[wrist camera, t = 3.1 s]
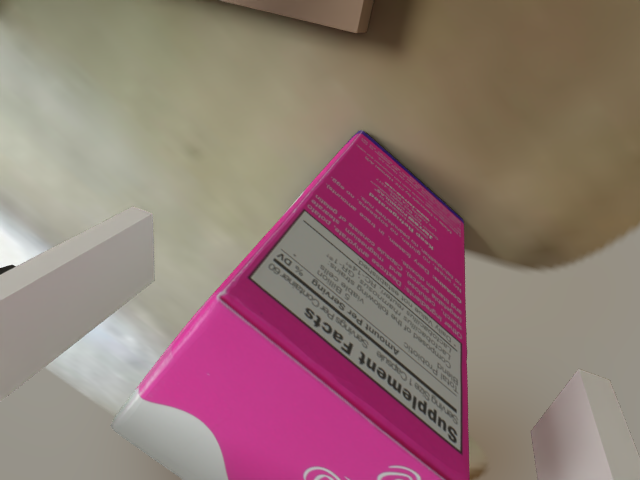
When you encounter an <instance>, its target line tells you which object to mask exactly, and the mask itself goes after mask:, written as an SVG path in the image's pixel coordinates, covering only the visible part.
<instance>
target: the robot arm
mask: <svg viewBox="0 0 640 480" xmlns="http://www.w3.org/2000/svg"><path fill="white" fill-rule="evenodd" d="M154 281H155V275H154V236H153V213H150V212H148V211H145V210H142V209H139V208H137V207H134V206H132V207H130V208H128V209H126V210H125V211H123V212H121V213H119V214H117V215H115V216H113V217H111V218H109V219H107V220H105V221H103V222H101V223H99V224H97V225H96V226H94V227H92V228H90V229H88V230H86V231H84V232H82V233H80V234H78V235H76V236H74V237H72V238H70V239H68V240H66V241H65V242H63V243H61V244H59V245H57V246H55V247H53V248H51V249H49V250H47V251H45V252H43V253H41V254H39V255H37V256H36V257H34V258H32V259H30V260H28V261H26V262H24V263H22V264H20V265H18V266H14V265H9V266H6V267H2V268H0V402H1V401H2V400H3V399H5V398H6V397H7V396H9V395H10V394H11V393H12V392H14V391H15V390H16V389H17V388H19V387H20V386H21V385H23V384H24V383H25V382H26V381H27V380H29V379H30V378H31V377H33V376H34V375H35V374H36V373H38V372H39V371H40V370H42V369H43V368H44V367H45V366H47V365H48V364H49V363H51V362H52V361H53V360H54V359H56V358H57V357H58V356H59V355H61V354H62V353H63V352H65V351H66V350H67V349H68V348H70V347H71V346H72V345H73V344H75V343H76V342H77V341H79V340H80V339H81V338H82V337H84V336H85V335H86V334H87V333H89V332H90V331H91V330H93V329H94V328H95V327H96V326H98V325H99V324H100V323H101V322H103V321H104V320H105V319H106V318H108V317H109V316H110V315H112V314H113V313H114V312H115V311H117V310H118V309H119V308H120V307H122V306H123V305H124V304H126V303H127V302H128V301H129V300H131V299H132V298H133V297H134V296H136V295H137V294H138V293H140V292H141V291H142V290H143V289H145V288H146V287H147V286H148V285H150V284H151V283H152V282H154ZM531 436H532V444H533V451H534V458H535V464H536V472H537V478H538V480H640V456H639V454H638V451H637V448H636V446H635V443H634V441H633V438H632V436H631V433H630V431H629V428H628V425H627V423H626V420H625V418H624V415H623V413H622V410H621V407H620V405H619V402H618V400H617V397H616V395H615V392H614V390H613V387H612V384H611V382H610V380H609V379H606V378H603V377H600V376H598V375H595V374H592V373H589V372H587V371H584V370H581V369H578V370H577V372H576V373H575V374H574V375H573V377H572V378H571V380H570V381H569V382H568V383H567V385H566V386H565V387H564V389H563V390H562V391H561V392H560V394H559V395H558V397H557V398H556V399H555V400H554V402H553V403H552V404H551V406H550V407H549V408H548V409H547V411H546V412H545V413H544V415H543V416H542V417H541V419H540V420H539V421H538V422H537V424H536V425H535V426H534V428H533V429H532V430H531Z"/></svg>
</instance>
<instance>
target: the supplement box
mask: <svg viewBox="0 0 640 480" xmlns="http://www.w3.org/2000/svg"><path fill="white" fill-rule="evenodd" d="M464 255H465V251H464V221H463V219H462V218H461V217H460V216H458V215H457V214H456V213H455V212H454V211H453V210H452V209H450V208H449V207H448V206H447V205H446V204H445V203H444V202H443V201H442V200H441V199H439V198H438V197H437V196H436V195H435V194H434V193H433V192H432V191H431V190H429V189H428V188H427V187H426V186H425V185H424V184H423V183H422V182H421V181H419V180H418V179H417V178H416V177H415V176H414V175H413V174H412V173H411V172H409V171H408V170H407V169H406V168H405V167H404V166H403V165H402V164H401V163H399V162H398V161H397V160H396V159H395V158H394V157H393V156H392V155H390V154H389V153H388V152H387V151H386V150H385V149H384V148H382V147H381V146H380V145H379V144H378V143H377V142H376V141H375V140H373V139H372V138H371V137H370V136H369V135H368V134H366V133H365V132H364V131H362V130H360V131H358V132H357V133H356V134H355V135H354V136H353V137H352V138H351V139H350V140H349V141H348V142H347V143H346V145H345V146H344V147H343V148H342V149H341V150H340V151H339V152H338V153H337V155H336V156H335V157H334V158H333V159H332V160H331V161H330V162H329V164H328V165H327V166H326V167H325V168H324V169H323V170H322V171H321V173H320V174H319V175H318V176H317V177H316V178H315V179H314V180H313V181H312V183H311V184H310V185H309V186H308V187H307V188H306V189H305V190H304V192H303V193H302V194H301V195H300V196H299V197H298V198H297V200H296V201H295V202H294V203H293V204H292V205H291V207H290V208H289V209H288V210H287V211H286V213H285V214H284V215H283V216H282V217H281V218H280V220H279V221H278V222H277V223H276V224H275V225H274V226H273V227H272V228H271V230H270V231H269V232H268V233H267V234H266V235H265V236H264V237H263V238H262V240H261V241H260V242H259V243H258V244H257V245H256V246H255V247H254V249H253V250H252V251H251V252H250V253H249V254H248V255H247V256H246V258H245V259H244V260H243V261H242V262H241V263H240V264H239V265H238V266H237V268H236V269H235V270H234V271H233V272H232V273H231V274H230V275H229V277H228V278H227V279H226V280H225V281H224V282H223V283H222V284H221V286H220V287H219V288H218V289H217V290H216V291H215V292H214V293H213V295H212V296H211V297H210V298H209V299H208V300H207V301H206V302H205V304H204V305H203V306H202V307H201V308H200V309H199V310H198V311H197V313H196V314H195V315H194V316H193V317H192V319H191V320H190V321H189V322H188V324H187V325H186V326H185V327H184V328H183V330H182V331H181V332H180V333H179V335H178V336H177V337H176V338H175V340H174V341H173V342H172V343H171V345H170V346H169V347H168V348H167V350H166V351H165V352H164V353H163V355H162V356H161V357H160V358H159V360H158V361H157V362H156V364H155V365H154V366H153V367H152V369H151V370H150V371H149V373H148V374H147V375H146V377H145V378H144V379H143V381H142V382H141V383H140V385H139V386H138V387H137V388H136V390H135V391H134V392H133V394H132V395H131V396H130V397H129V399H128V400H127V401H126V403H125V404H124V405H123V407H122V408H121V409H120V411H119V412H118V413H117V415H116V416H115V417H114V419H113V421H112V424H111V427H112V429H113V430H114V431H115V432H116V433H118V434H119V435H121V436H122V437H123V438H124V439H126V440H127V441H129V442H130V443H132V444H133V445H134V446H136V447H137V448H139V449H140V450H141V451H143V452H144V453H146V454H147V455H148V456H150V457H151V458H153V459H154V460H155V461H157V462H158V463H160V464H161V465H163V466H164V467H166V468H167V469H168V470H170V471H171V472H173V473H174V474H176V475H177V476H178V477H180V478H181V479H183V480H469V437H468V387H467V363H466V360H467V345H466V344H467V343H466V310H465V257H464Z"/></svg>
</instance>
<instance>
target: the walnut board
mask: <svg viewBox="0 0 640 480" xmlns="http://www.w3.org/2000/svg"><path fill="white" fill-rule="evenodd" d="M220 1H224V2H228V3H232V4H237V5H241V6H245V7H249V8H253V9H258V10H262V11H266V12H270V13H274V14H278V15H283V16H287V17H291V18H295V19H299V20H304V21H308V22H312V23H316V24H320V25H324V26H329V27H333V28H337V29H341V30H345V31H350V32H354V33H364V32H367V29H368V24H369V20H370V15H371V11H372V6H373V2H374V0H220Z"/></svg>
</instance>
